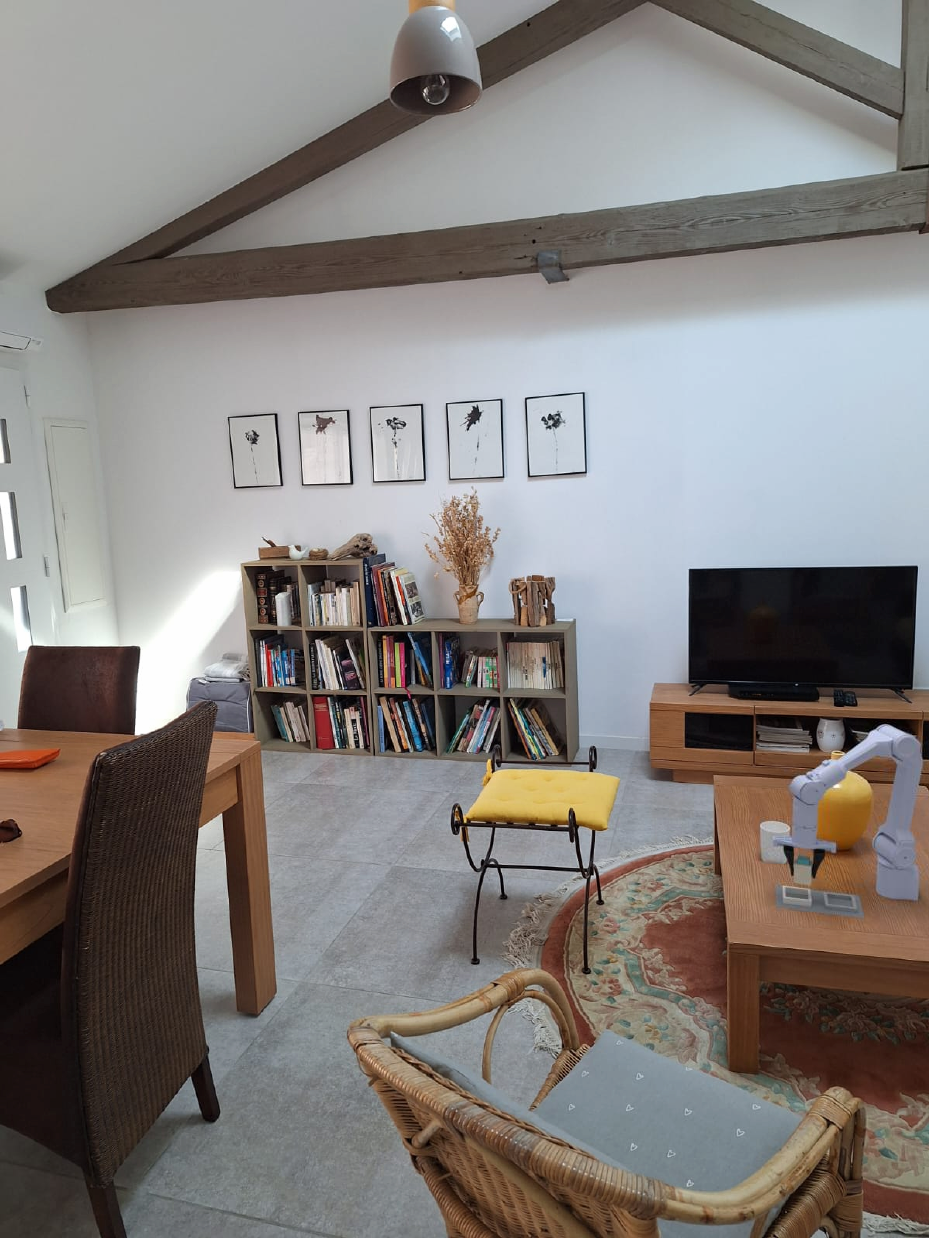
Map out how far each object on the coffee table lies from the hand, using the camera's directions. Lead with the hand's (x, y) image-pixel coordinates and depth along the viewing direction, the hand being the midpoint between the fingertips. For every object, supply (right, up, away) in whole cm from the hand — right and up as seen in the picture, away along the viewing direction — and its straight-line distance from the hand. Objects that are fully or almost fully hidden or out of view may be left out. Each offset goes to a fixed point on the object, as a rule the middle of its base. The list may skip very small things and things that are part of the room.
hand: (803, 875), depth 212 cm
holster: (+8, -7, -2) cm, 11 cm away
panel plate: (+4, -7, 0) cm, 8 cm away
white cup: (+2, -4, +26) cm, 26 cm away
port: (-1, -7, +2) cm, 8 cm away
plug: (0, -1, 0) cm, 1 cm away
